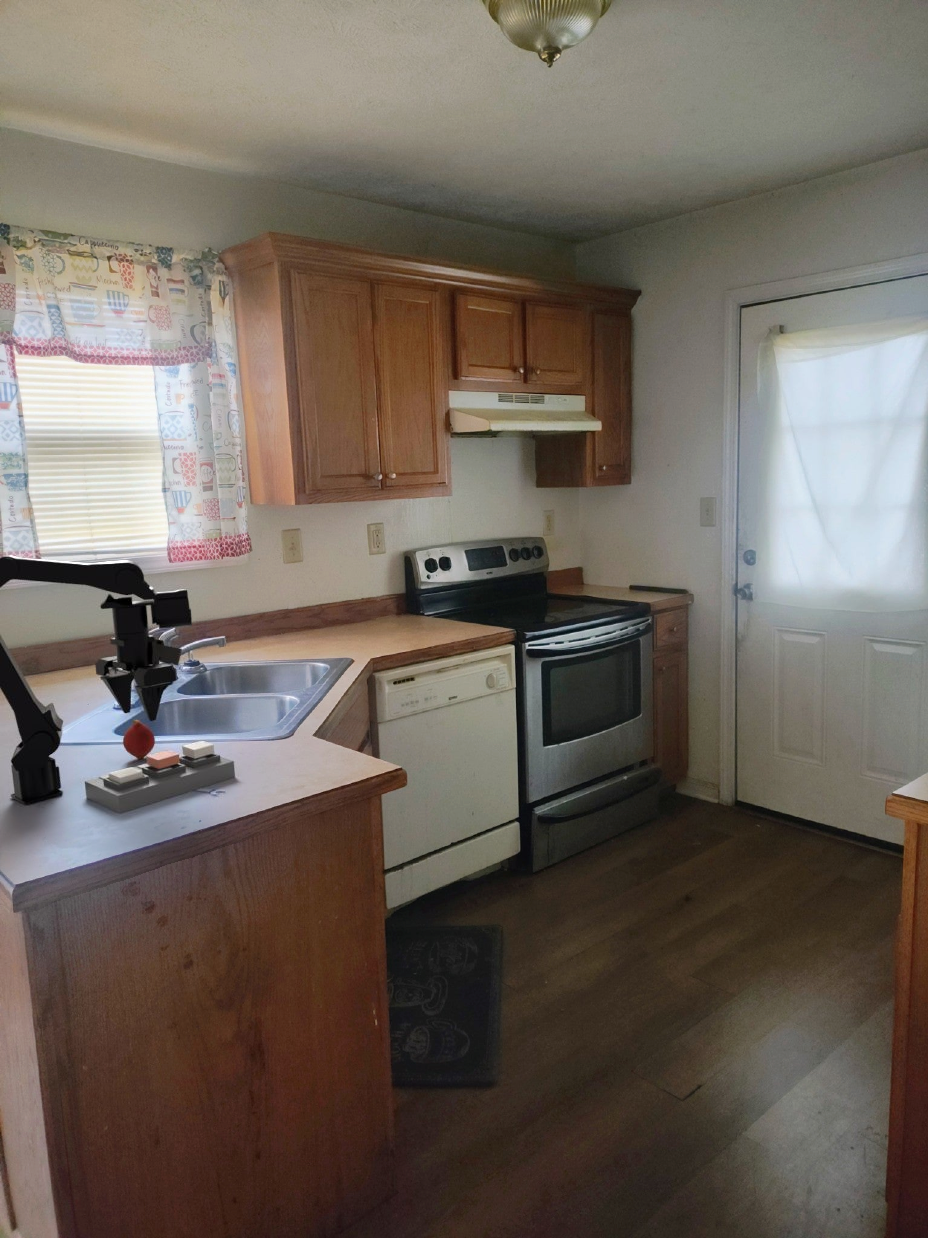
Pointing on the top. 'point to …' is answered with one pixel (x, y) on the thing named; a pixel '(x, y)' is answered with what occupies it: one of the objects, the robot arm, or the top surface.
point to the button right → (198, 749)
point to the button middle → (162, 759)
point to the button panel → (159, 782)
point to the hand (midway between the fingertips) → (139, 716)
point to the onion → (139, 740)
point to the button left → (125, 775)
